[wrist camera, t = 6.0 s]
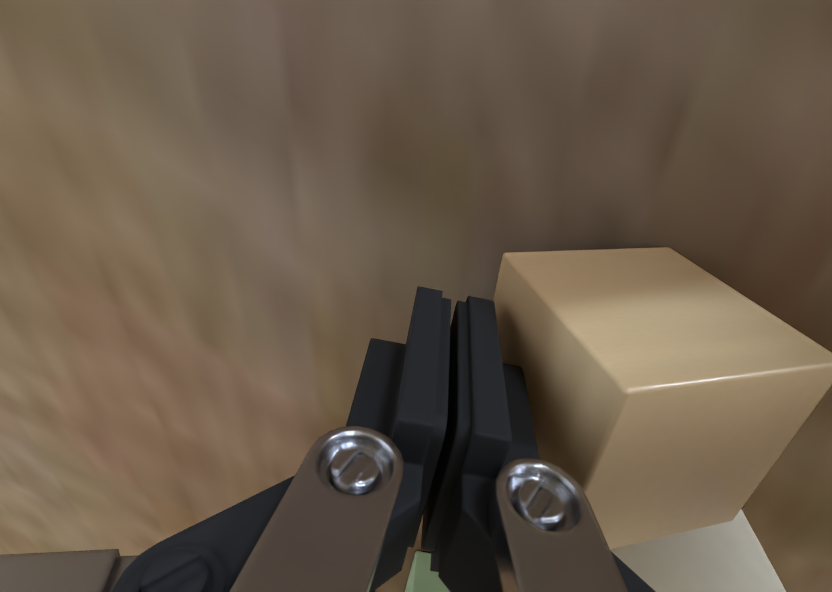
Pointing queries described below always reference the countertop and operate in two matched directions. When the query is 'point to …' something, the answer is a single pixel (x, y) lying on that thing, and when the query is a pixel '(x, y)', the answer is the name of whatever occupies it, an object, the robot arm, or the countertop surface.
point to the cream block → (704, 560)
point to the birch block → (653, 383)
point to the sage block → (424, 576)
